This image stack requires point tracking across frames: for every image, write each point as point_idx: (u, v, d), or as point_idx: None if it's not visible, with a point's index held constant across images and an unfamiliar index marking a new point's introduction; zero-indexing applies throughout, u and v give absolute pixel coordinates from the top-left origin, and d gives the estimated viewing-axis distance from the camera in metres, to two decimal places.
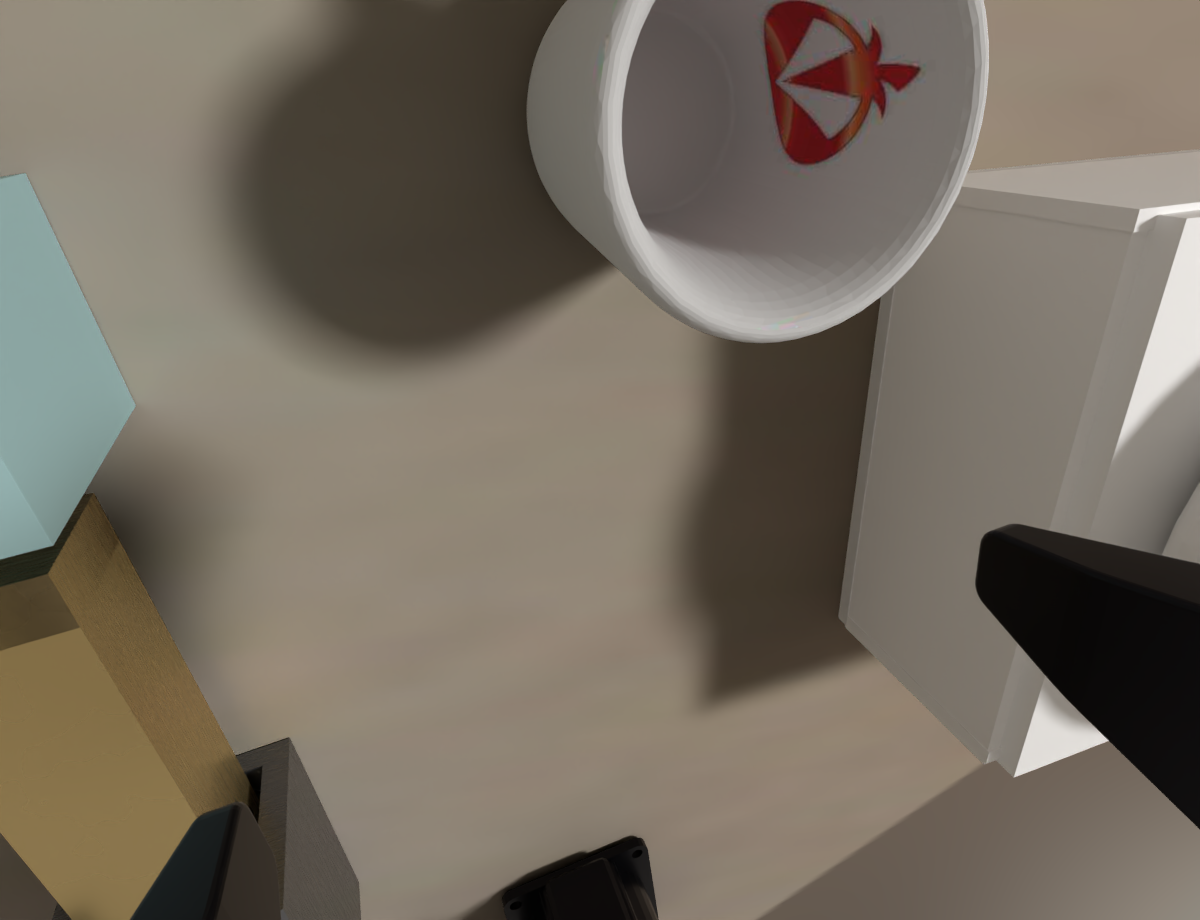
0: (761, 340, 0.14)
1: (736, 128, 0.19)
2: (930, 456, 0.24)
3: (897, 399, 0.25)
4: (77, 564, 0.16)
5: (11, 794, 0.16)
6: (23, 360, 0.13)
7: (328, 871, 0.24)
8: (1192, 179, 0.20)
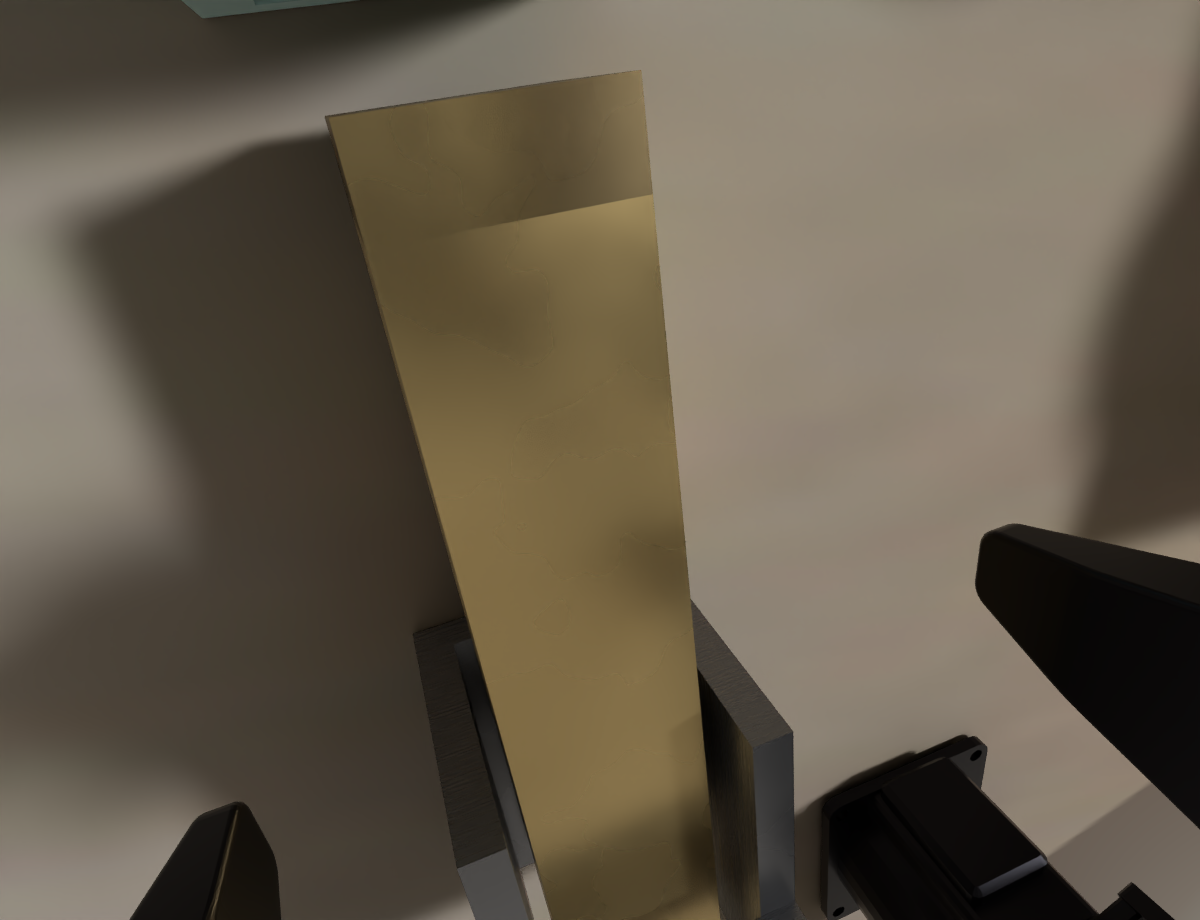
0: None
1: None
2: None
3: None
4: None
5: (486, 504, 0.10)
6: None
7: None
8: None
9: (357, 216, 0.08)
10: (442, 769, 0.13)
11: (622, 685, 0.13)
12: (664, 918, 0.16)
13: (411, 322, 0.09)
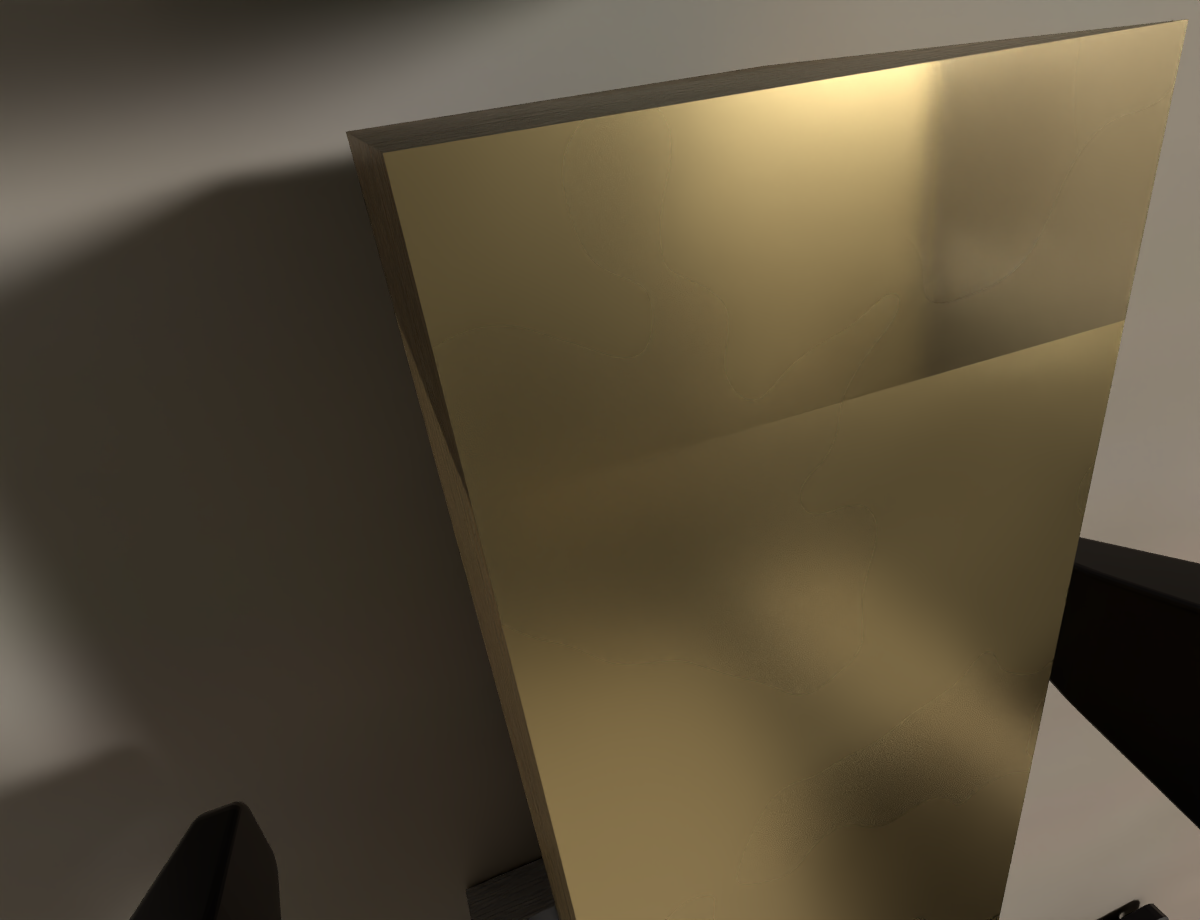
0: None
1: None
2: None
3: None
4: None
5: None
6: None
7: None
8: None
9: (456, 427, 0.03)
10: None
11: None
12: None
13: (571, 649, 0.04)
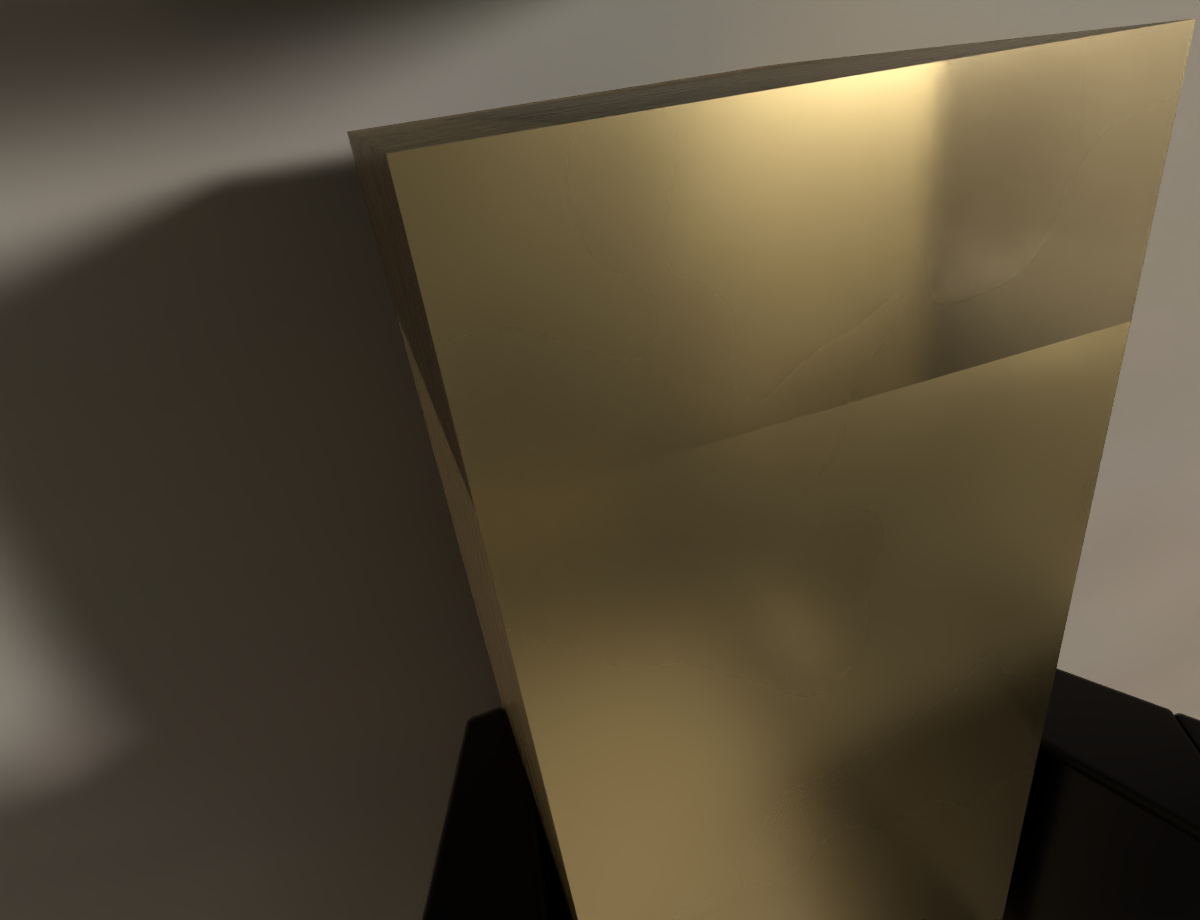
0: None
1: None
2: None
3: None
4: None
5: None
6: None
7: None
8: None
9: (459, 430, 0.03)
10: None
11: None
12: None
13: (575, 653, 0.04)
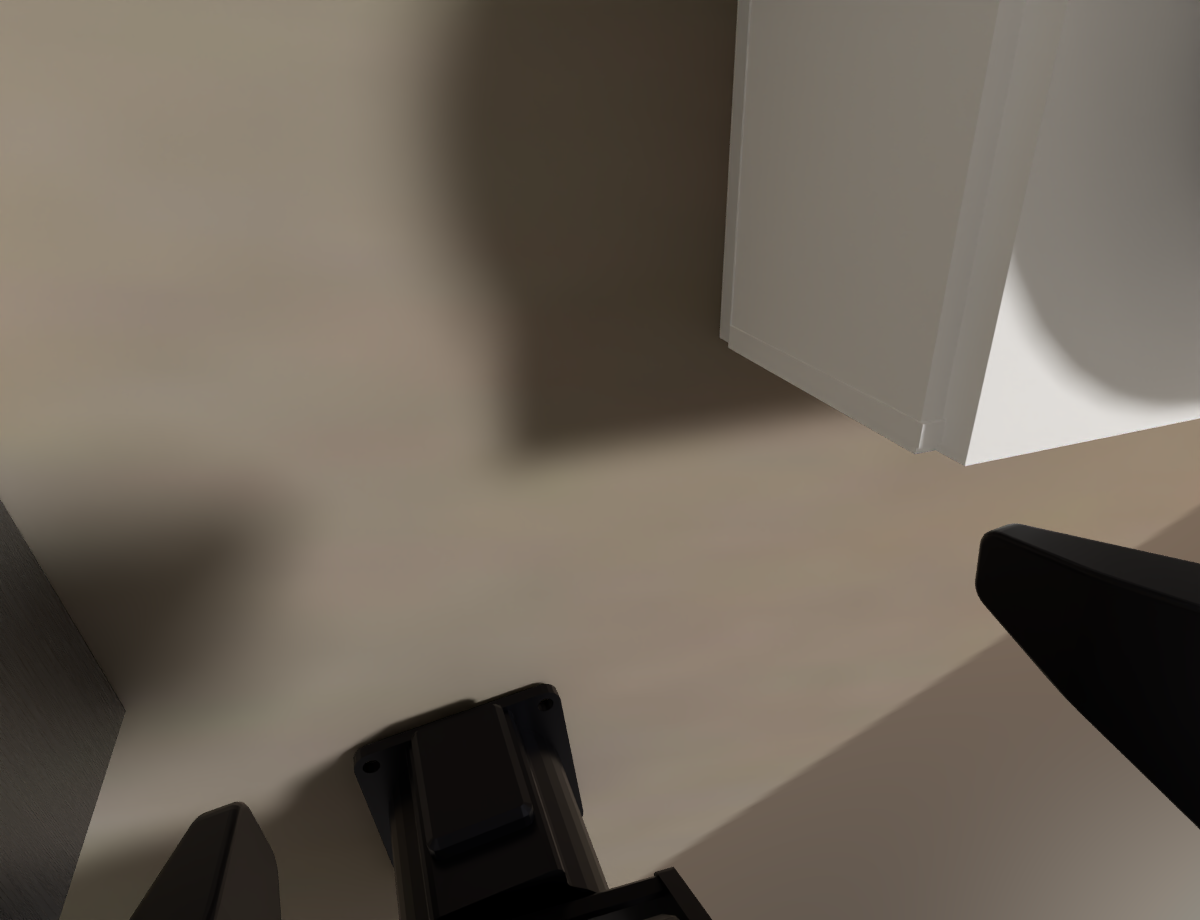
0: None
1: None
2: None
3: None
4: None
5: None
6: None
7: (24, 649, 0.16)
8: None
9: None
10: None
11: None
12: None
13: None
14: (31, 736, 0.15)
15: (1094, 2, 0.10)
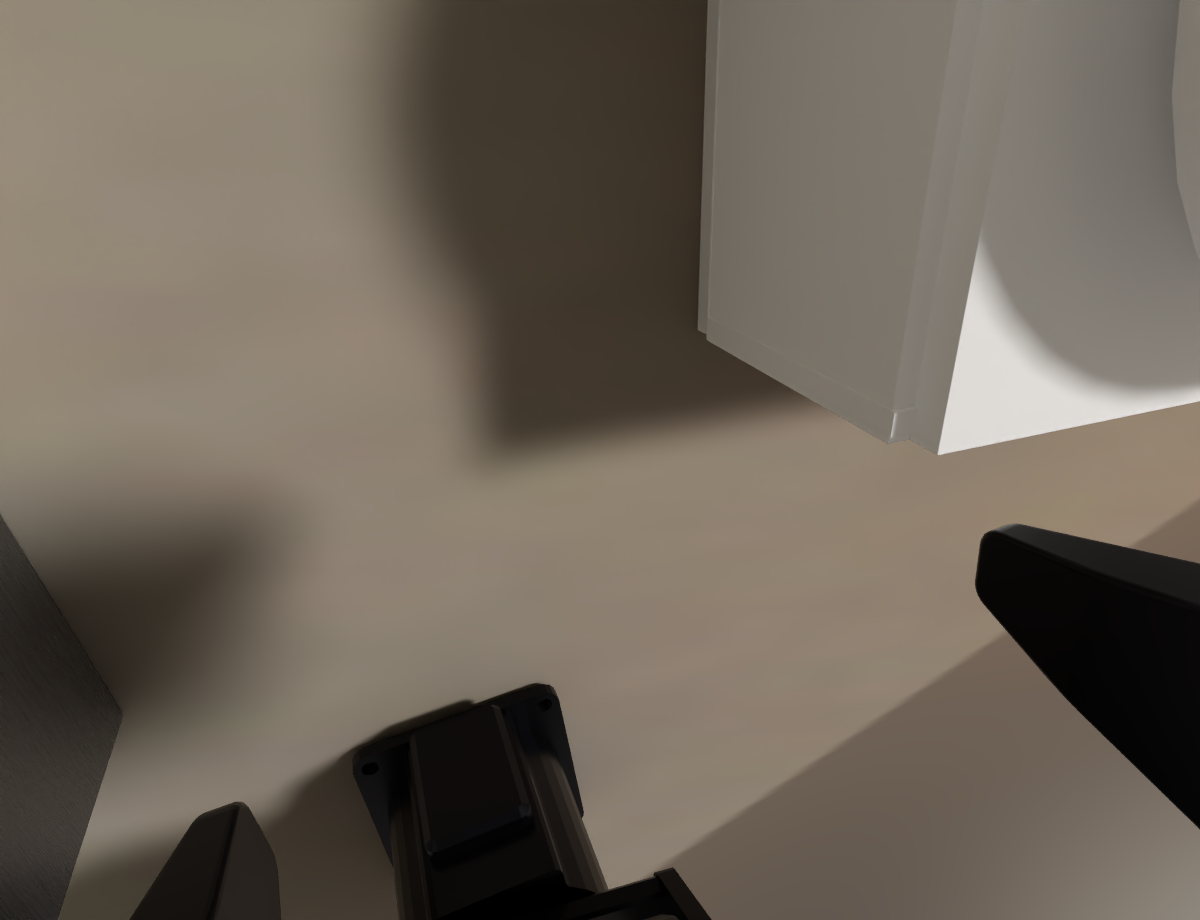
0: None
1: None
2: None
3: None
4: None
5: None
6: None
7: (19, 655, 0.16)
8: None
9: None
10: None
11: None
12: None
13: None
14: (27, 741, 0.15)
15: None
